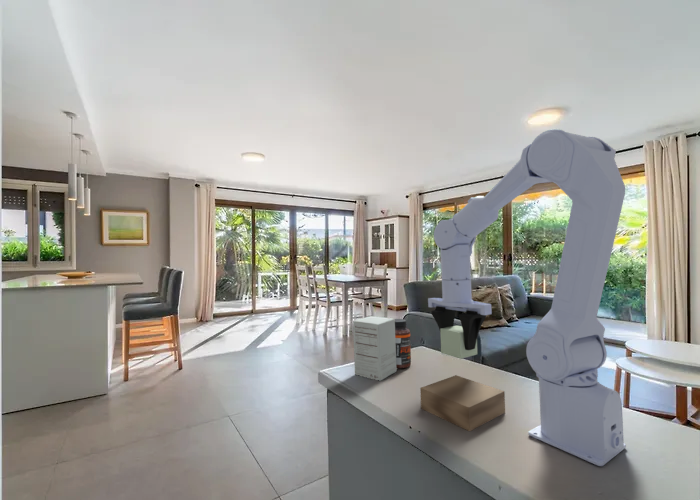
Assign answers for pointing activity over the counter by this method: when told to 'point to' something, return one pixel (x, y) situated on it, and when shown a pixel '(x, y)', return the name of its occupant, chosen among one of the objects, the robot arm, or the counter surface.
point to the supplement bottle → (402, 344)
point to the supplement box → (374, 347)
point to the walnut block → (463, 401)
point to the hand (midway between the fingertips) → (458, 346)
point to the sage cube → (455, 342)
